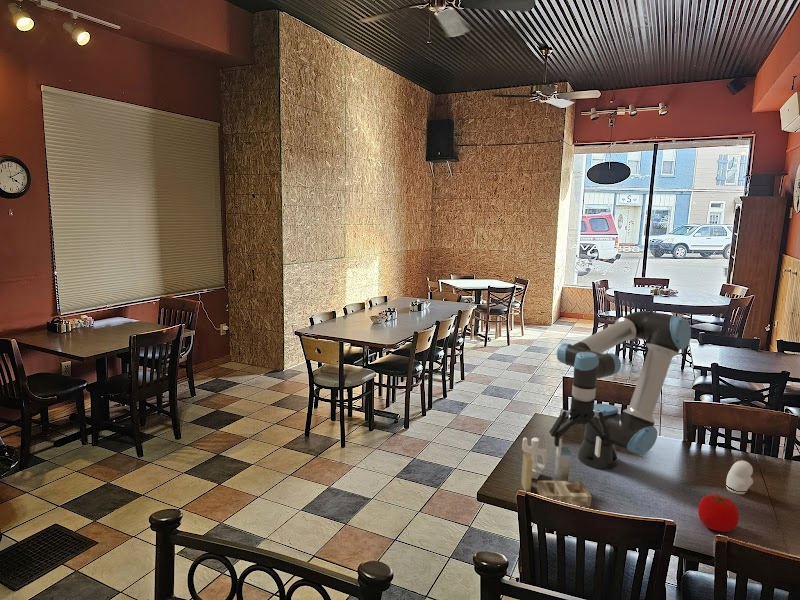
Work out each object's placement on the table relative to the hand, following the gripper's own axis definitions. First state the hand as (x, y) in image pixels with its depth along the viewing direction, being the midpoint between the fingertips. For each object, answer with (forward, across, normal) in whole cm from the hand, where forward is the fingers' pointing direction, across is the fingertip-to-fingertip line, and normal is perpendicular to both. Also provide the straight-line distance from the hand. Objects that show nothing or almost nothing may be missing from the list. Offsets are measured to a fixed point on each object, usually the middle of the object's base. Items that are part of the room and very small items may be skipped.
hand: (577, 455), depth 184 cm
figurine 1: (+17, +11, -16) cm, 25 cm away
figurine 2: (+17, -63, -8) cm, 66 cm away
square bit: (+17, +2, -9) cm, 19 cm away
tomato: (+17, -42, +15) cm, 48 cm away
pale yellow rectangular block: (+17, +15, -7) cm, 24 cm away
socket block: (+17, +4, 0) cm, 17 cm away
